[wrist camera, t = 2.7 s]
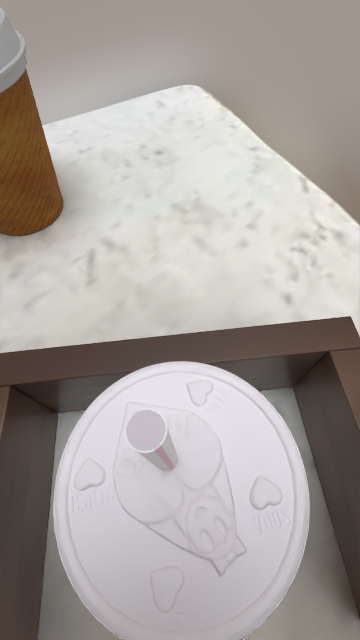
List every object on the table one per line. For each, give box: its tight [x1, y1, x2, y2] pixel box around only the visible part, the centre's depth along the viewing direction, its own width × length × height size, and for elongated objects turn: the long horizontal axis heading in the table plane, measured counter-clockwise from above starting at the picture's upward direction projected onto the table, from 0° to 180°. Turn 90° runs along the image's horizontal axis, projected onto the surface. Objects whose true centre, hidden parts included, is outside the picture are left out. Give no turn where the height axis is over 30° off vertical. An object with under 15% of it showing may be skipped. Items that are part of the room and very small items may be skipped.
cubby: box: [0, 316, 360, 640], centre depth 14 cm, size 12×17×6 cm
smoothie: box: [53, 361, 310, 640], centre depth 10 cm, size 6×6×14 cm
